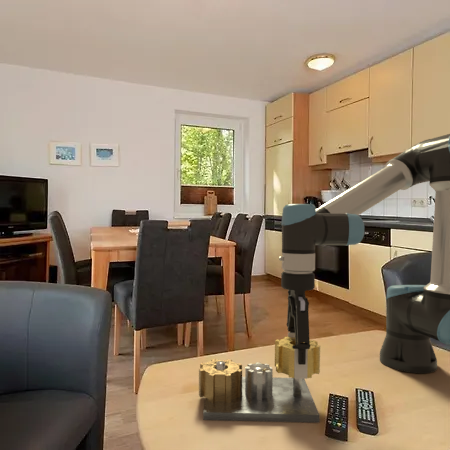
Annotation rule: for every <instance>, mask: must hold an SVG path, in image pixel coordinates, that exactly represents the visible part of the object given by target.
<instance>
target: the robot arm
mask: <svg viewBox="0 0 450 450" xmlns="http://www.w3.org/2000/svg"><path fill="white" fill-rule="evenodd" d="M427 182H429V183H428V184H429V186H430V188H432V189H433V190H434V193H435V195H434V196H435V198H434V212H433V213H434V215H433V228H432V229H433V232H432V233H433V234H432V247H431V248H432V249H431V265H430V266H431V267H430V281H429V283H427V284H395V285H390V286H388V288H387V290H386V298H385V304H386V308H385V313H386V317H385V320H386V321H385V322H386V323H385V324H386V325H385V326H386V331H385V337H384V340H383V341H382V345H381V348H380V351H379V361H380V362H381V363H382V364H383V365H384V366H386V367H388V368H391V369H394V370H397V371H400V372H405V373H413V374H429V373H434V372H436V371H437V370H438V360H437V355H436V353H435V351H434V350H435V349H434V347H433V343H432V341H431V340H432V339H433V340H435V341H438V342H440V343H442V344H444V345H447V346H450V133H448V134H445V135H440V136H436V137H433V138H428V139H424V140H422V141H420V142H418V143H416V144H414V145H412V146H410V147H409V148H407V149H406V150H404V151H402V152H401V153H399V154H398V155H396V156H395V157H393V158H392V159H389V160H388V161H386V163H385V166H384V167H383V168H382V169H380V170H378V171H376V172H375V173H373V174H371V175H370V176H368V177H367V178H365V179H364V180H362V181H360V182H359V183H356V184H355V185H353V186H352V187H351V188H349V189H347V190H345V191H344V192H342V193H340V194H339V195H337V196H336V197H334V198H332V199H330V200H328V201H327V202H325V203H324V204H322V205H321V206H319V207H318V208H316V206H315V204H312V203H291V204H290V203H289V204H285V205H284V206H283V208H282V214H281V215H282V216H281V223H280V224H281V255H282V256H279V258H278V259H279V260H278V261H280V262H281V269H282V272H281V273H280V274H281V275H280V276H281V277H280V278H281V279H280V281H281V282H280V283H281V284H280V285H281V288H283V289H284V290H287V301H288V302H287V315H286V316H287V317H286V318H287V319H286V327H287V337H293V338H295V342H296V345H293V346H292V348H293V349H294V378H302V379H306V380H307V379H308V378H307V363H308V349H310V340H311V339H310V320H309V319H310V318H309V316H310V315H309V309H310V307H309V306H310V302H309V300H308V297H307V296H306V291H312V290H314V289H315V287H316V286H315V281H316V280H315V279H316V274H315V273H314V272H315V270H316V246H347V247H348V246H355V245H358V244H359V243H361V242H362V241H363V239H364V236H365V223H364V221H363V219H362V217H361V216H360V215H361V214H363V213H365V212H367V211H369V209H371V208H373V207H375V205H377V204H379V203H381V202H382V201H384V200H386V199H387V198H388V197H390V196H393V194H395V193H397V192H398V191H400V190H401V191H406V190H408V189H410V188H411V187H413V186H416V185H419V184H422V183H427ZM301 342H305V343H301Z"/></svg>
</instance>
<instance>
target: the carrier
mask: <svg viewBox="0 0 450 450" xmlns="http://www.w3.org/2000/svg"><path fill="white" fill-rule="evenodd" d="M244 368H245V372H244V373H245V375H244V376H242V397H241V398H235V399H232V400H231V402H230V403H226V402H224V401H215V402H214V403H212V402H208V399H207V398H205V402H204V407H203V412H202V414H203V417H202V420H203V421H233V422H234V421H237V422H239V421H240V422H241V421H242V422H243V421H244V422H272V423H273V422H274V423H275V422H278V423H280V422H281V423H283V422H286V423H315V424H316V423H318V424H319V423H320V417H321V415H320V413H319V410H318V408H317V405H316V404H315V401H314V399H313V396H312V394H311V391H310V388H309V386H308V384H307V382H306V380H305V379H302V378H291V377H276V376H275V377H273V375H274V372H273V370H274V369H273V366H270V364H269V363H261V362H255V363H248V364H247V366H245V367H244ZM217 370H225V362H224V361H218V362H217Z"/></svg>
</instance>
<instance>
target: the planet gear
mask: <svg viewBox="0 0 450 450" xmlns="http://www.w3.org/2000/svg"><path fill="white" fill-rule="evenodd" d="M301 343H305V342H301ZM293 345H296V342H295V338H293V337H288V336H283V338H281V339H275V341H274V367H275V371H276V373H278V374H284V375H287V376H288V378H294V349H293V348H292V346H293ZM320 368H321V345H320V344H319V345H318V341H317V340H313V339H310V349H308V363H307V379H311V378H312V377H313V375H315V374H317V375H319V374H320V372H321V369H320Z"/></svg>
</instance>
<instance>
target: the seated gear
mask: <svg viewBox="0 0 450 450" xmlns="http://www.w3.org/2000/svg"><path fill="white" fill-rule="evenodd" d="M218 361H224V362H225V370H217V362H218ZM199 367H200V368H198V397H200V398H205V399H206V398H207V399H208V402H212V403H214V402H215V401H224V402H226V403H230V402H231V400H232V399H235V398H241V397H242V377H243V365H242V363H241V362H239V363H236V362H235V361H233V360H232V359H230V358H229V359H226V360H224V359H217V358H212V359H210V361H207V362H203V361H202V362H201V363H200V364H199Z"/></svg>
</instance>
